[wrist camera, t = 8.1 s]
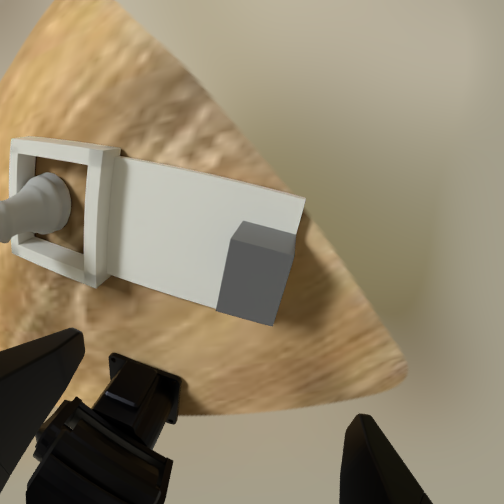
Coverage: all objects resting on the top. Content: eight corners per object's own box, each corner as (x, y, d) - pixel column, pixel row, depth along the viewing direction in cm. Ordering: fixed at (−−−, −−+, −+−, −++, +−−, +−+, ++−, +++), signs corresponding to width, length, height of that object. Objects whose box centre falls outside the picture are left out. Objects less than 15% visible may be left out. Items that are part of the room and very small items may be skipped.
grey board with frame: (268, 324, 20) (261, 361, 17) (27, 244, 22) (-3, 261, 18) (308, 189, 17) (309, 203, 13) (29, 136, 18) (-7, 141, 15)
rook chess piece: (59, 240, 21) (-16, 284, 14) (28, 201, 20) (-48, 232, 13) (84, 200, 19) (-2, 237, 12) (50, 158, 19) (-36, 179, 11)
